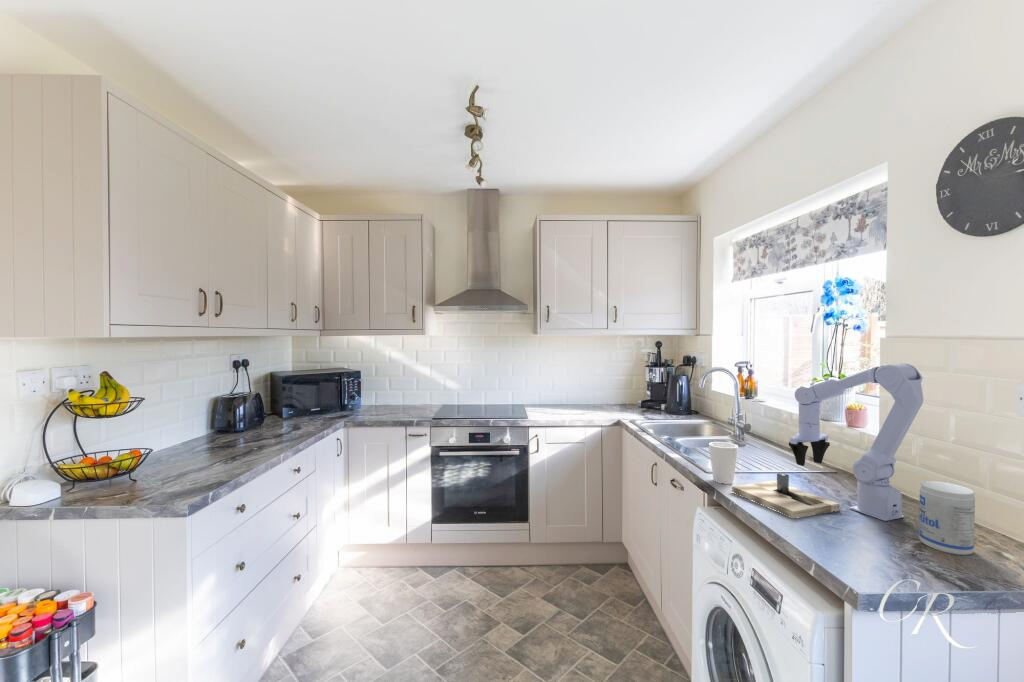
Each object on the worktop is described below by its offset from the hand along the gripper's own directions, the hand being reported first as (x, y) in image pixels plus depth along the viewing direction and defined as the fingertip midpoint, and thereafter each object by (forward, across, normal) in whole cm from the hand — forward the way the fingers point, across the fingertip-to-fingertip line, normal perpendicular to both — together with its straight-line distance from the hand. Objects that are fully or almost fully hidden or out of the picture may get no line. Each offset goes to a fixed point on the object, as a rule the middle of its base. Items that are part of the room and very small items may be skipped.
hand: (809, 463), depth 143 cm
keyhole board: (+9, +15, +3) cm, 18 cm away
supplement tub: (+10, +4, +38) cm, 39 cm away
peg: (+9, +12, +1) cm, 16 cm away
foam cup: (+10, +18, -18) cm, 27 cm away
